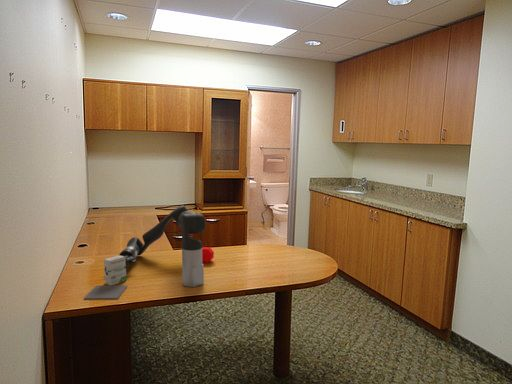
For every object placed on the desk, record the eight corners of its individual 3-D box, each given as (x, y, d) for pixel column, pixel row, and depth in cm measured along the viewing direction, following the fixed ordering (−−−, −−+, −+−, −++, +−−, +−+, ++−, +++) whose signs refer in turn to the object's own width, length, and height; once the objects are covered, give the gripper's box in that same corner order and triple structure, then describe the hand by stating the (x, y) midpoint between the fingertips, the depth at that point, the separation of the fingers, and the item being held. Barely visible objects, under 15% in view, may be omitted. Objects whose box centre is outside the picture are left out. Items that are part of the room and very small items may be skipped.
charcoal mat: (127, 286, 168) (127, 285, 168) (117, 299, 155) (117, 297, 155) (96, 286, 167) (96, 285, 167) (83, 299, 154) (83, 298, 154)
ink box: (121, 278, 178) (120, 254, 176) (126, 280, 175) (126, 256, 173) (104, 283, 171) (103, 258, 170) (109, 286, 168) (108, 261, 167)
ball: (214, 259, 208) (214, 246, 207) (209, 264, 200) (209, 250, 199) (201, 258, 209) (201, 245, 208) (196, 263, 202) (196, 249, 201)
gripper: (141, 261, 195) (132, 273, 178) (116, 262, 195) (104, 273, 178) (140, 248, 194) (131, 258, 177) (115, 248, 194) (103, 258, 176)
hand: (118, 266), depth 177 cm, fingers closed
